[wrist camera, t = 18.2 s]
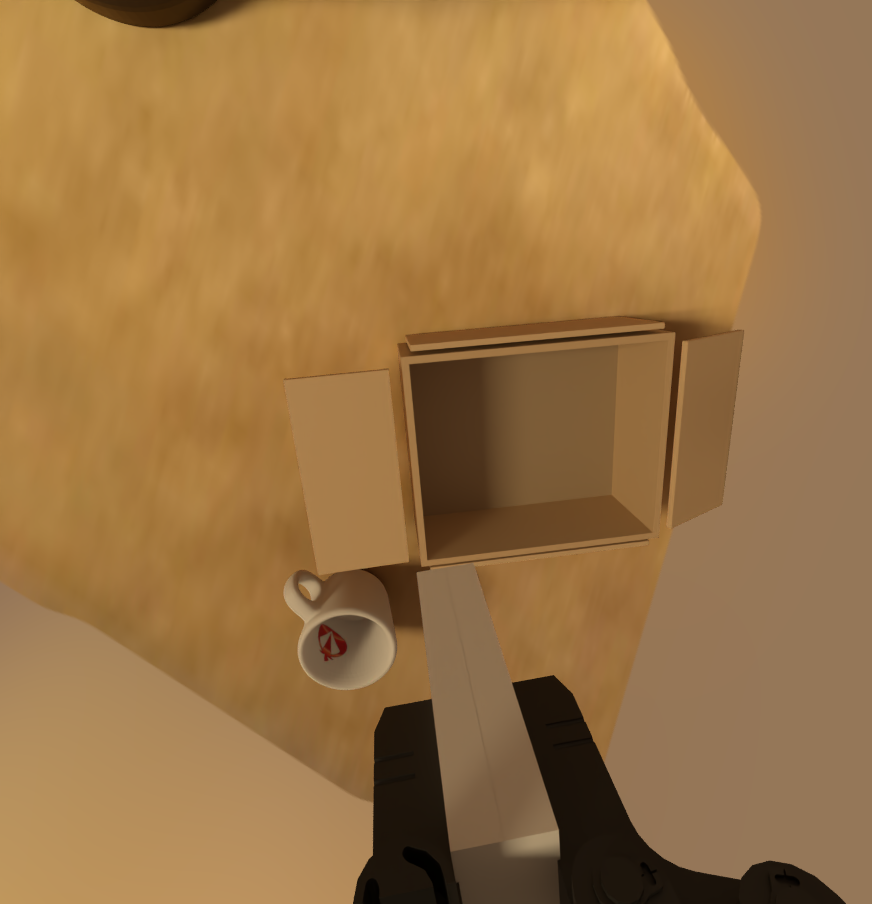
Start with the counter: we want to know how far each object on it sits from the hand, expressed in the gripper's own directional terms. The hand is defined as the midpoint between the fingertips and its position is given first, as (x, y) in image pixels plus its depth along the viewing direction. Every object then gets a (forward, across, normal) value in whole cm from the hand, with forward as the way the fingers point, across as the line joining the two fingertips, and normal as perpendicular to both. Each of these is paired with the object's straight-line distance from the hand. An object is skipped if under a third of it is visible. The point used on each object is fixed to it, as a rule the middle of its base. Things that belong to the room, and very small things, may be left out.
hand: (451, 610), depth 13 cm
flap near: (+22, -1, -5) cm, 22 cm away
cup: (+30, -9, -19) cm, 36 cm away
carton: (+30, +9, -6) cm, 32 cm away
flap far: (+22, +19, -6) cm, 30 cm away
